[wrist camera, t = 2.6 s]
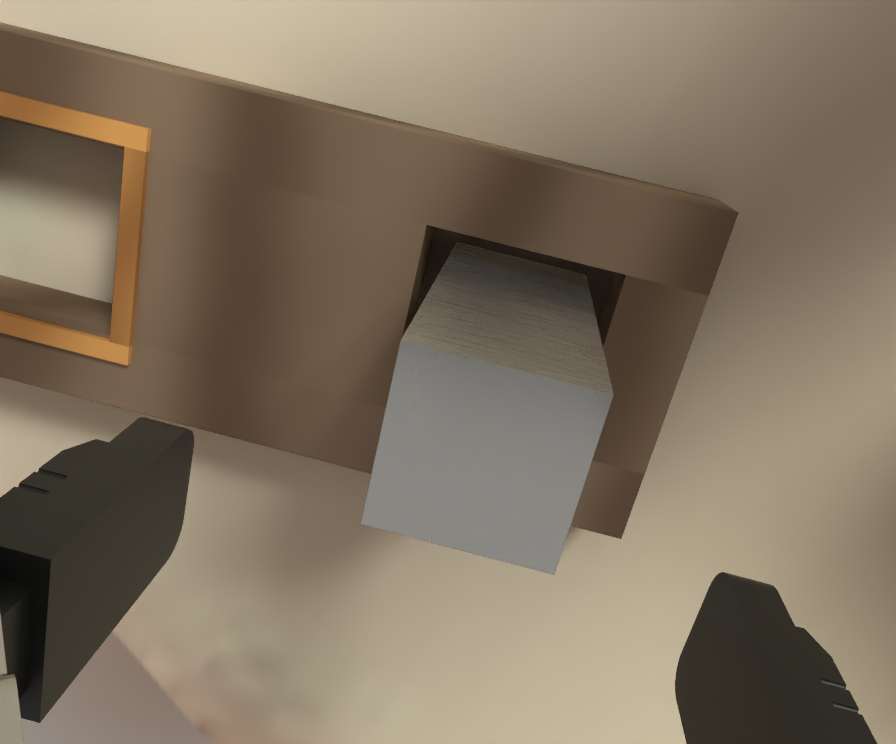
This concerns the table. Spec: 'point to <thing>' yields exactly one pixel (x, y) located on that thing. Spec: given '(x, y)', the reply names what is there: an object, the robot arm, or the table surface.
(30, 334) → the hole board
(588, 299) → the steel peg
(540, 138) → the table surface
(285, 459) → the table surface
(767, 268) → the table surface
